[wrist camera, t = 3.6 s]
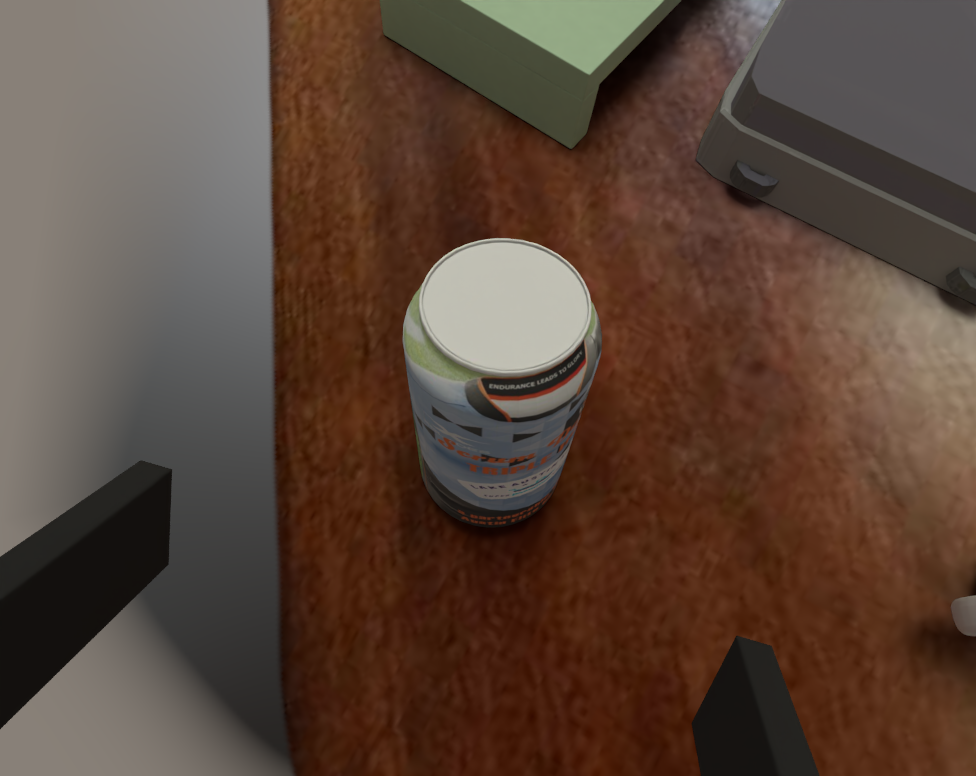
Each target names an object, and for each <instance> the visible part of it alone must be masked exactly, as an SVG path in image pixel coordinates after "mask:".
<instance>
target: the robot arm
mask: <svg viewBox="0 0 976 776" xmlns="http://www.w3.org/2000/svg"><path fill="white" fill-rule="evenodd" d="M171 478H172V469H168V468H165V467H162V466H158V465H155V464H152V463H148V462H145V461H139V462H138V463H136V464H135V465H133V466H132V467H130V468H129V469H128V470H126V471H125V472H123V473H122V474H120V475H119V476H117V477H116V478H114V479H113V480H112V481H110V482H109V483H107V484H106V485H104V486H103V487H101V488H100V489H98V490H97V491H95V492H94V493H92V494H91V495H90V496H88V497H87V498H85V499H84V500H82V501H81V502H79V503H78V504H76V505H75V506H74V507H72V508H71V509H69V510H68V511H66V512H65V513H63V514H62V515H60V516H59V517H58V518H56V519H55V520H53V521H52V522H50V523H49V524H48V525H46V526H44V527H43V528H42V529H40V530H39V531H37V532H36V533H34V534H33V535H31V536H30V537H28V538H27V539H26V540H24V541H23V542H21V543H20V544H18V545H17V546H15V547H14V548H12V549H11V550H10V551H8V552H7V553H5V554H4V555H2V556H1V557H0V729H1V728H2V727H3V726H4V725H5V724H6V723H7V722H8V721H9V720H10V719H11V718H12V717H13V716H14V715H15V714H16V713H17V712H18V711H19V710H20V709H21V708H22V707H23V706H24V705H25V704H26V703H27V702H28V701H29V700H30V699H31V698H32V697H33V696H34V695H35V694H37V693H38V692H39V691H40V689H42V688H43V686H45V685H46V684H47V683H48V682H49V681H50V680H51V679H52V678H53V677H54V676H55V675H56V674H57V673H58V672H59V671H60V670H61V669H62V668H63V667H64V666H65V665H66V664H67V663H68V662H69V661H70V660H71V659H72V658H73V657H74V656H75V655H76V654H77V653H78V652H79V651H80V650H81V649H82V648H83V647H85V646H86V644H88V642H90V641H91V639H92V638H94V637H95V636H96V635H97V633H99V632H100V631H101V630H102V629H103V628H104V627H105V626H106V625H107V624H108V623H109V622H110V621H111V620H112V619H113V618H114V617H115V616H116V615H117V614H118V613H119V612H120V611H121V610H122V609H123V608H124V607H125V606H126V605H127V604H128V603H129V602H130V601H131V600H132V599H134V598H135V597H136V595H137V594H139V593H140V592H141V591H142V590H143V589H144V588H145V587H146V586H147V585H148V584H149V583H150V582H151V581H152V580H153V579H154V578H155V577H156V576H157V575H158V574H159V573H160V572H161V571H162V570H163V569H164V568H165V567H166V566H167V565H168V561H169V535H170V533H169V532H170V507H171V480H172V479H171ZM692 728H693V733H694V739H695V744H696V750H697V756H698V761H699V767H700V772H701V776H819V773H818V770H817V768H816V765H815V762H814V760H813V757H812V754H811V752H810V749H809V746H808V743H807V741H806V738H805V735H804V733H803V730H802V727H801V725H800V722H799V719H798V716H797V714H796V711H795V708H794V706H793V703H792V700H791V697H790V695H789V692H788V689H787V687H786V684H785V681H784V679H783V676H782V673H781V670H780V668H779V665H778V662H777V660H776V657H775V654H774V652H773V649H772V646H770V645H767V644H763V643H760V642H756V641H753V640H750V639H746V638H743V637H739V636H736V638H735V640H734V642H733V644H732V646H731V648H730V649H729V651H728V653H727V655H726V657H725V659H724V661H723V663H722V665H721V667H720V669H719V671H718V673H717V675H716V677H715V679H714V681H713V683H712V685H711V687H710V688H709V690H708V692H707V694H706V696H705V698H704V700H703V702H702V704H701V706H700V708H699V710H698V712H697V714H696V716H695V718H694V720H693V722H692Z"/></svg>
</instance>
